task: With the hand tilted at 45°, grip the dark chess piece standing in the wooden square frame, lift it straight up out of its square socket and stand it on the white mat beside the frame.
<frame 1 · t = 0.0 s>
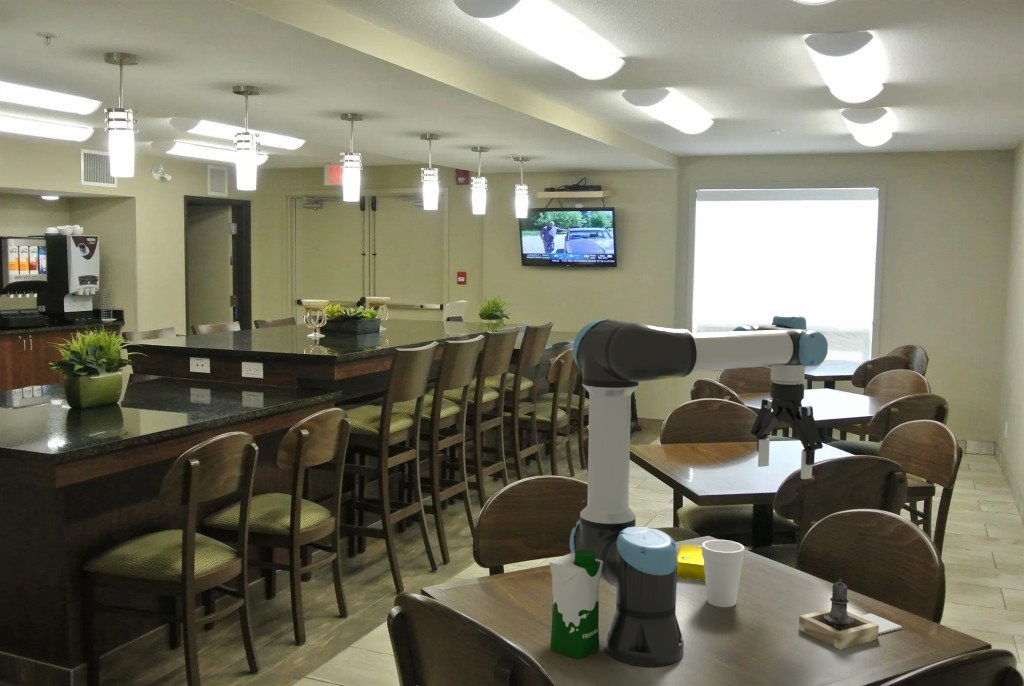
hand: (784, 472, 212), 28 cm above the table, tool pointing down, fingers open, 13 cm apart
milk carton: (574, 649, 180), on the table
element tile: (706, 572, 226), on the table
dark chess piece: (837, 635, 188), resting in wooden square frame
foam cup: (721, 602, 205), on the table
white mat: (873, 625, 193), on the table
wooden square frame: (837, 634, 188), on the table
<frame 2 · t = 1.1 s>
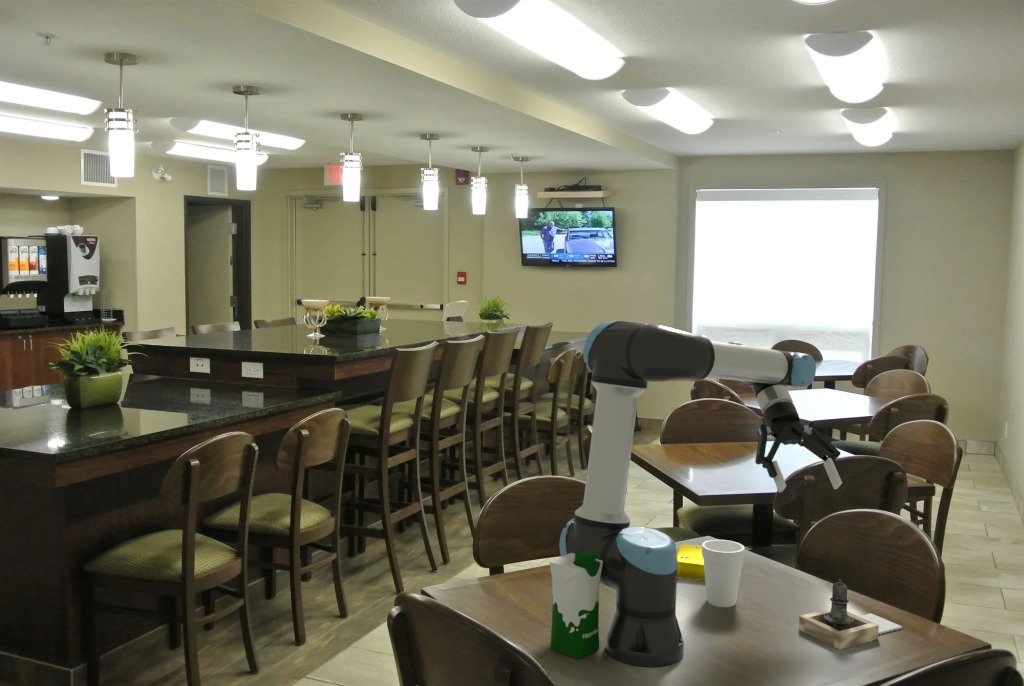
hand: (810, 487, 200), 27 cm above the table, tool tilted 45°, fingers open, 13 cm apart
nothing on the table moved.
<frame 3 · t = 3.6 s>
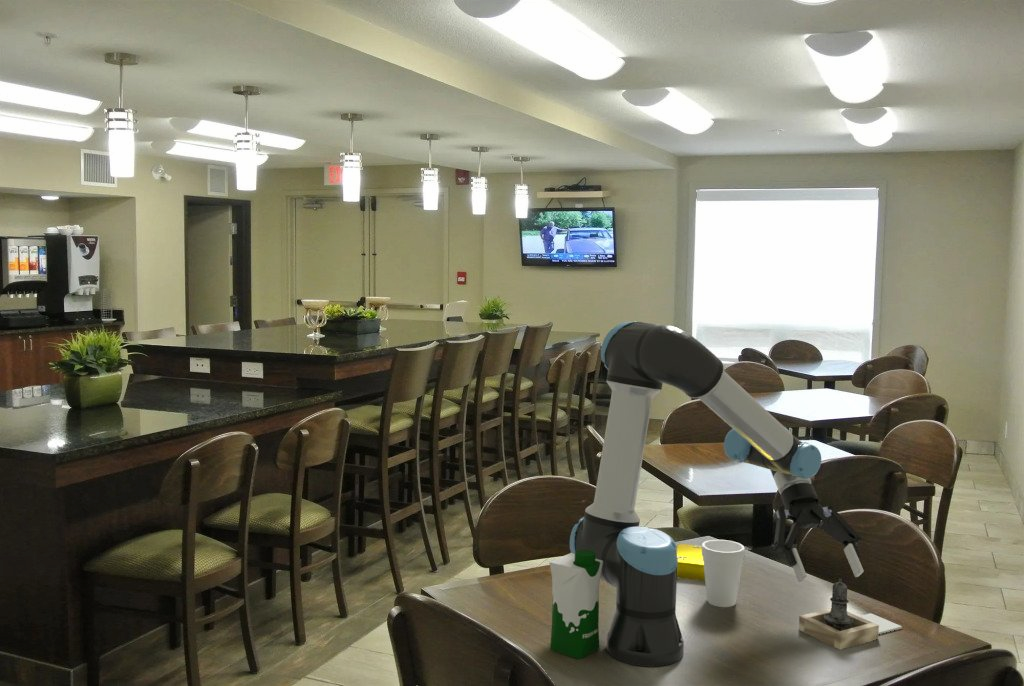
hand: (831, 576, 192), 10 cm above the table, tool tilted 45°, fingers open, 13 cm apart
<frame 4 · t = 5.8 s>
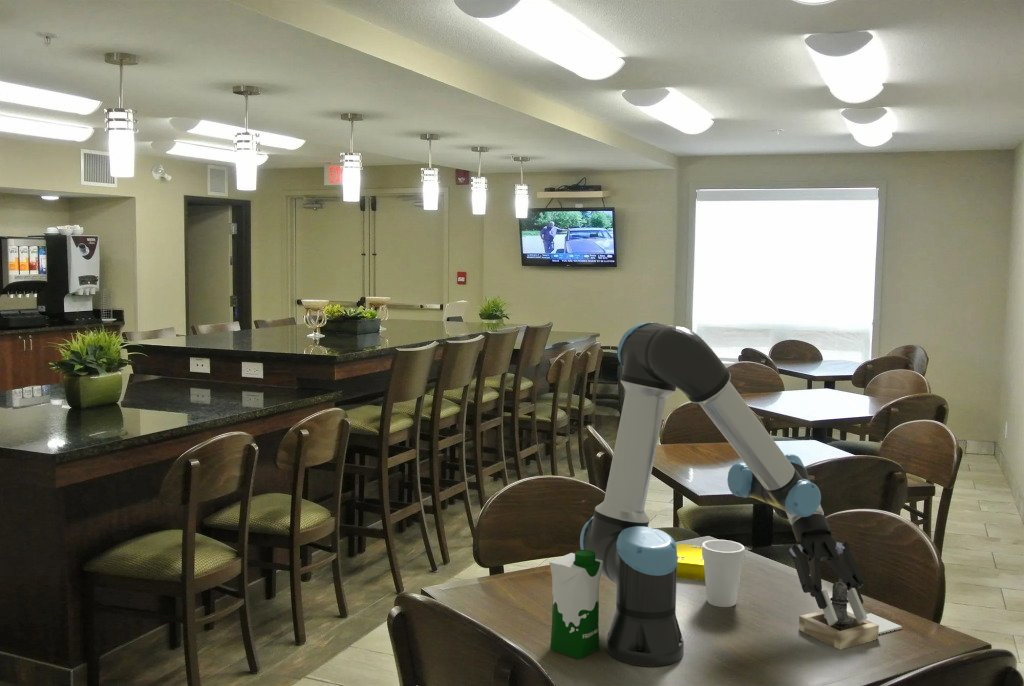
hand: (848, 621, 184), 4 cm above the table, tool tilted 45°, fingers open, 6 cm apart
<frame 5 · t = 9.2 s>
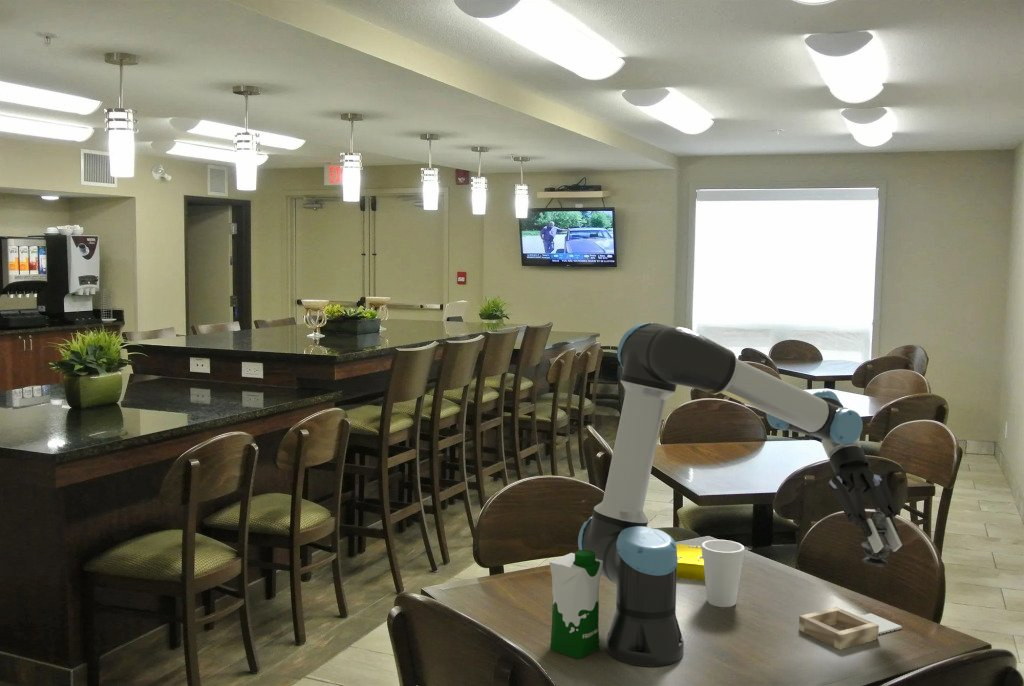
hand: (888, 548, 187), 18 cm above the table, tool tilted 45°, fingers closed on dark chess piece, 4 cm apart
dark chess piece: (875, 563, 192), point 13 cm above the table, touching gripper
when the fingers open (6 cm above the table, at t = 11.5 s): dark chess piece drops 1 cm, resting on white mat.
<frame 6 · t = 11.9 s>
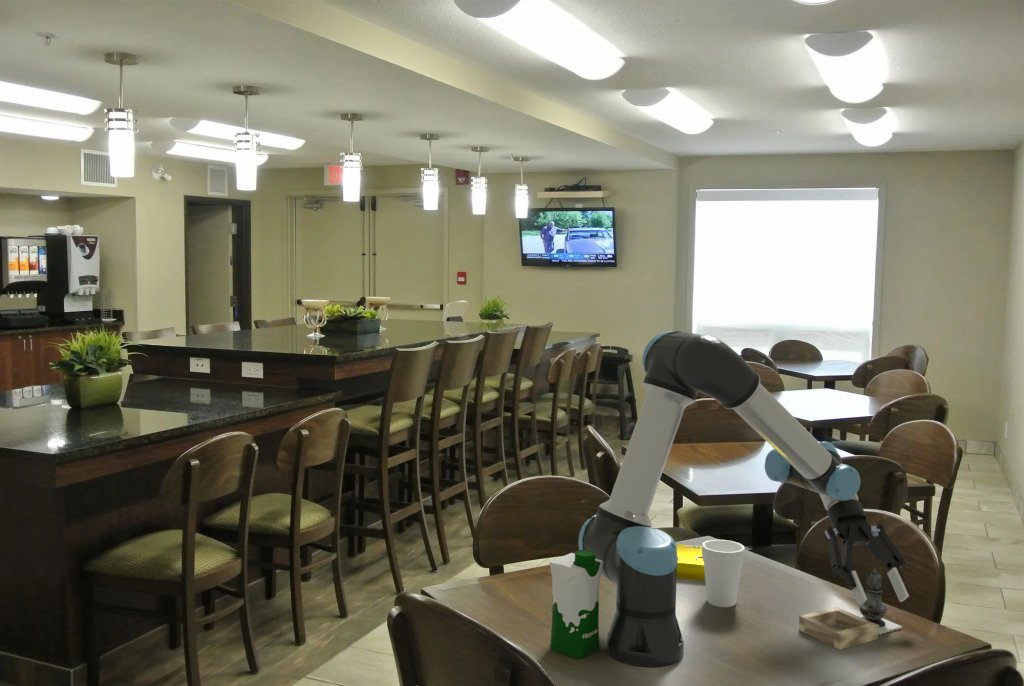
hand: (883, 600, 189), 7 cm above the table, tool tilted 45°, fingers open, 9 cm apart
dark chess piece: (872, 623, 193), resting on white mat
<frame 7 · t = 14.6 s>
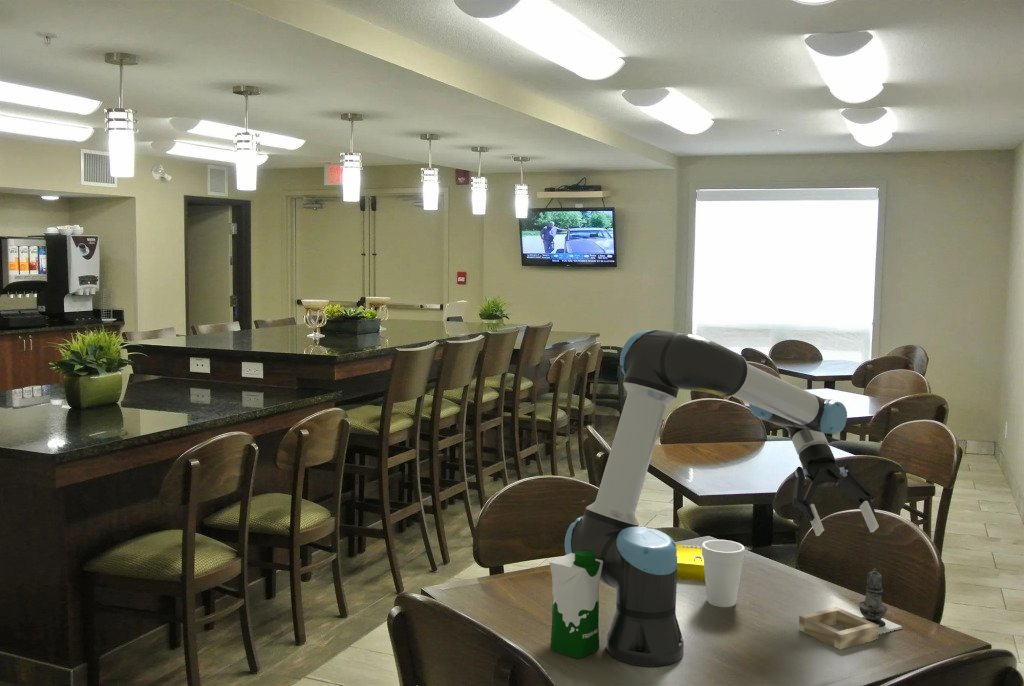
hand: (847, 531, 201), 17 cm above the table, tool tilted 45°, fingers open, 13 cm apart
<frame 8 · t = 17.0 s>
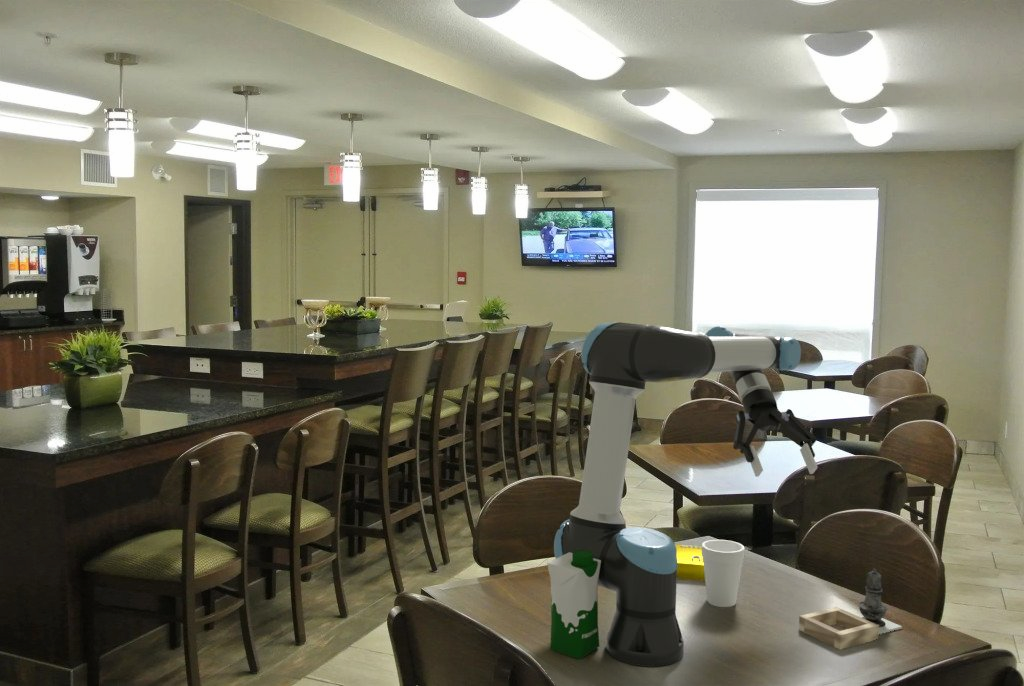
hand: (786, 472, 204), 30 cm above the table, tool tilted 45°, fingers open, 13 cm apart
milk carton: (574, 648, 180), on the table, touching arm
at the end: dark chess piece 0.3 cm off-centre on the white mat, point 0.3 cm above the white mat's base; dark chess piece tilted 0°; the gripper is holding nothing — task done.
